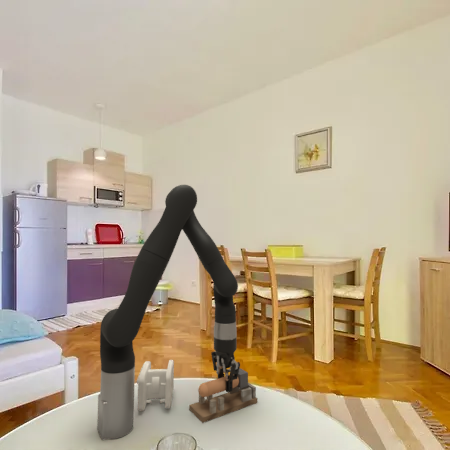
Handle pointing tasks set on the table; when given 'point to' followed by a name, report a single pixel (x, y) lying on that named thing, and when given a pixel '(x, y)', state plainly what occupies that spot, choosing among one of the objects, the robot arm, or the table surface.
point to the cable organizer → (155, 384)
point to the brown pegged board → (223, 403)
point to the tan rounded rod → (223, 384)
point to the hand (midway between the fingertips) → (224, 388)
